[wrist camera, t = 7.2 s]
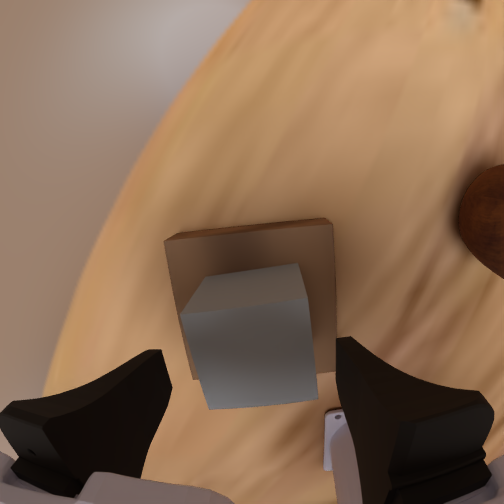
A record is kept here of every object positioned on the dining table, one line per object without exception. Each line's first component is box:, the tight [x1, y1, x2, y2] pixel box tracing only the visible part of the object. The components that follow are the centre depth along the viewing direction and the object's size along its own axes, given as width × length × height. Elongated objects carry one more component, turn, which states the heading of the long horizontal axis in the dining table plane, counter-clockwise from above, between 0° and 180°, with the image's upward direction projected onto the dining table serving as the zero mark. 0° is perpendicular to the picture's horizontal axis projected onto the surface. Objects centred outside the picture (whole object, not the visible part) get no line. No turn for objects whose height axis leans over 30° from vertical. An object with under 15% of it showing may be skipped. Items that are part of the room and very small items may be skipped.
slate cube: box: [180, 263, 318, 410], centre depth 15 cm, size 5×5×5 cm
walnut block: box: [164, 218, 337, 380], centre depth 19 cm, size 9×9×3 cm
